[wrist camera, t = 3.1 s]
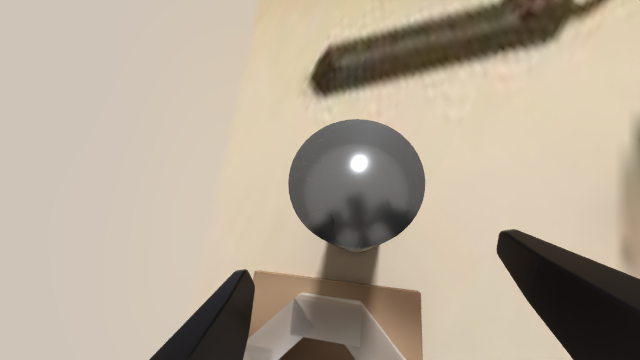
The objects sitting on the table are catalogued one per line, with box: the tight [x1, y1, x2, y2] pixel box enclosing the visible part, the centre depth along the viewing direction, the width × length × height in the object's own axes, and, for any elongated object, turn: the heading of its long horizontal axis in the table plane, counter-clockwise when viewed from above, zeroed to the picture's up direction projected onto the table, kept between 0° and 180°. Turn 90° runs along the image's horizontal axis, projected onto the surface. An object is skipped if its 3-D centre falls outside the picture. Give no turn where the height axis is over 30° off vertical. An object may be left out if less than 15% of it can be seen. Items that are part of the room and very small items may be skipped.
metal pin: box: [288, 119, 425, 252], centre depth 12 cm, size 4×4×12 cm
